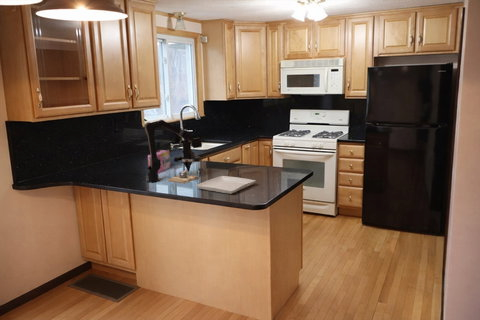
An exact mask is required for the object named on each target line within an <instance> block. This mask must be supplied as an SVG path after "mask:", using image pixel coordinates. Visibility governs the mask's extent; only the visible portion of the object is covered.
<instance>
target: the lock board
mask: <svg viewBox="0 0 480 320" xmlns="http://www.w3.org/2000/svg"><path fill="white" fill-rule="evenodd" d="M198 179H199V176H197V175H191V174H187V178H179V175H176V176H173V177H170V178H168V179H167V181H168V182H170V183H171V182H172V183H177V184H186V183H189V182H190V183H191V182H192V181H194V180H198Z"/></svg>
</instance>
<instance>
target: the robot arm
mask: <svg viewBox="0 0 480 320" xmlns="http://www.w3.org/2000/svg"><path fill="white" fill-rule="evenodd" d="M143 126H144V132H145V133H146V135H147V136H146V137H147V139H148V140H147V141H148V148H149V153H150V155H151V159H150V166H149V165H148V167H147V169H146V170H147V172H148V173H147V179H148V180H147V181H146V183H150V184H151V183H153V184H154V183H157V182H160V181H161V179H159V173H158V170H159V169H160V165H161V163H160V162H161V160H160V159H159V158H157V153H156V151H157V147H156V139H155V133H156V129H159V128H161V127H163V128H165V129H168V130H169V131H171V132H173V133H175V134H177V135H178V136H179V137H180V138H181V139H180V141H179V144H182V145H181V146H182V151H181V153H182V155H181V156H180V155H179V156H178V155H177V156H175V157H174V158H173V162H174V163H175V162H179V161H181V163H182V164H183V165H184V166H185V168H186V169H187V170H188V171H189V172H190V171H191V170H190V169H191V167H192V164H193V163H194V162H195V163H198V162H201V161H203V157H202V156H201V155H200V156H199V155H197V156H196V152H194V151H193V149H198V148H202V146H203V143H202V139H201V137H196V138H194V137H193V136H192V133H191V131H187V130H185V129H181V128H180V127H179V128H178V127H177V126H175V125H173V124H171V123H169V122H167V121H165V120H163V119H160V120H156V121H153V122H149V121H147V122H146V123H145V124H144V125H143Z"/></svg>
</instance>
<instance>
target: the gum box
mask: <svg viewBox="0 0 480 320" xmlns="http://www.w3.org/2000/svg"><path fill="white" fill-rule="evenodd" d="M156 153H157V158H159V159H160V160H161V162H160V163H161V165H160V169H159V170H158V174H160V173H161V172H163V171H165V170H167V169H169V168H170V167H171V156H170V154H171V153H170V149H167V150H164V149H159V150H156ZM150 159H151V155H150V154H148V155H147V163H148V167H149V166H150Z"/></svg>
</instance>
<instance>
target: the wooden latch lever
mask: <svg viewBox="0 0 480 320" xmlns="http://www.w3.org/2000/svg"><path fill="white" fill-rule="evenodd" d="M188 172H190V171H188V170H187V168H186V169H185V170H184V171H181V172H179V173H178V176H179V178H187V175H188Z"/></svg>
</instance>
